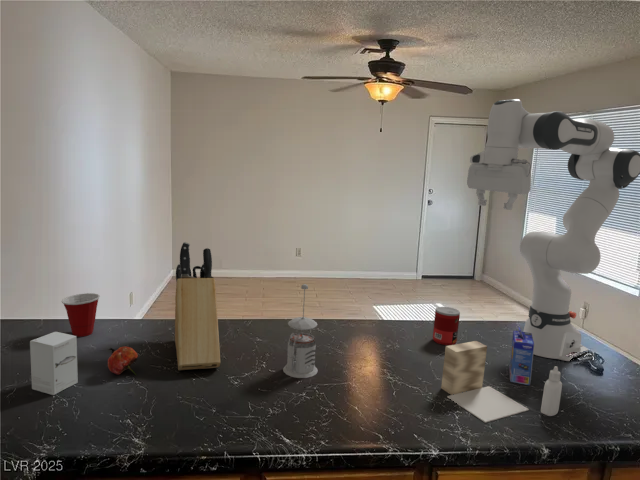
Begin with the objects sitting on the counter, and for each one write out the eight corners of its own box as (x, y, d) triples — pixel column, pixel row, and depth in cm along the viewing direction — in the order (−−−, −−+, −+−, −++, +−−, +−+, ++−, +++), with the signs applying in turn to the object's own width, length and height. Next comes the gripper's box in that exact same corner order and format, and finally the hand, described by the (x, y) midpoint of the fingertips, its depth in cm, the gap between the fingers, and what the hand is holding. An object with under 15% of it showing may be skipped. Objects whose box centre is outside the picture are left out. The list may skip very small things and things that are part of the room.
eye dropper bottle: (533, 407, 122) (540, 363, 120) (553, 406, 123) (559, 362, 121) (545, 417, 118) (552, 371, 116) (565, 415, 119) (572, 370, 117)
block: (471, 381, 135) (476, 340, 133) (482, 387, 132) (487, 346, 129) (441, 388, 130) (445, 346, 128) (451, 395, 126) (456, 352, 124)
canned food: (457, 347, 159) (460, 315, 157) (432, 343, 161) (435, 312, 159) (455, 338, 167) (459, 308, 165) (432, 335, 168) (435, 305, 166)
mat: (488, 387, 132) (489, 386, 132) (528, 410, 121) (528, 409, 121) (447, 397, 125) (447, 396, 125) (485, 422, 114) (485, 421, 114)
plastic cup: (70, 327, 158) (69, 291, 156) (105, 327, 159) (104, 292, 157) (56, 339, 147) (55, 301, 145) (93, 340, 148) (92, 302, 146)
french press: (323, 367, 138) (328, 283, 134) (305, 383, 128) (310, 293, 124) (293, 359, 142) (297, 277, 138) (273, 375, 132) (276, 286, 128)
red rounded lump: (141, 375, 132) (119, 349, 134) (151, 360, 129) (128, 333, 130) (119, 389, 126) (96, 361, 128) (129, 374, 122) (105, 345, 124)
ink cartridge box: (507, 368, 145) (513, 322, 143) (527, 371, 143) (534, 325, 141) (509, 382, 136) (515, 333, 133) (530, 386, 134) (537, 336, 132)
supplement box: (53, 396, 115) (51, 346, 113) (31, 389, 117) (28, 340, 115) (79, 383, 122) (77, 335, 119) (56, 377, 124) (54, 330, 122)
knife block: (208, 327, 164) (209, 238, 159) (221, 372, 132) (223, 262, 126) (173, 329, 161) (174, 238, 155) (178, 376, 128) (178, 263, 123)
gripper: (539, 160, 128) (532, 212, 131) (481, 157, 146) (476, 203, 148) (523, 159, 125) (516, 212, 128) (466, 156, 143) (461, 203, 145)
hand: (494, 207), depth 138 cm, fingers open, 8 cm apart
